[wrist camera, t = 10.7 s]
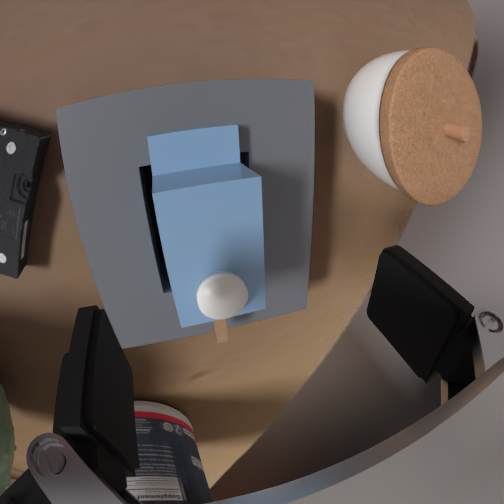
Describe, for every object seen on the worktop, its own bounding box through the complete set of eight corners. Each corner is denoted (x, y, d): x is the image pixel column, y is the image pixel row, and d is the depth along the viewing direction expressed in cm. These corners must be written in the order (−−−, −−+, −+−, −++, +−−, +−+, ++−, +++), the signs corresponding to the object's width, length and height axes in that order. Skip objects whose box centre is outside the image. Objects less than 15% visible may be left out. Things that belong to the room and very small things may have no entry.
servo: (149, 130, 17) (144, 145, 10) (218, 120, 18) (264, 130, 11) (177, 294, 23) (195, 378, 16) (232, 283, 24) (270, 360, 17)
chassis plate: (285, 83, 18) (314, 80, 14) (285, 280, 26) (306, 308, 22) (75, 108, 14) (55, 109, 11) (123, 314, 22) (122, 348, 19)
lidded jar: (343, 28, 17) (438, 11, 9) (426, 94, 21) (509, 110, 13) (296, 147, 20) (383, 180, 13) (389, 191, 25) (468, 233, 17)
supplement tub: (190, 441, 34) (226, 556, 19) (101, 444, 30) (117, 563, 14) (191, 390, 29) (240, 550, 13) (75, 392, 24) (81, 556, 9)
